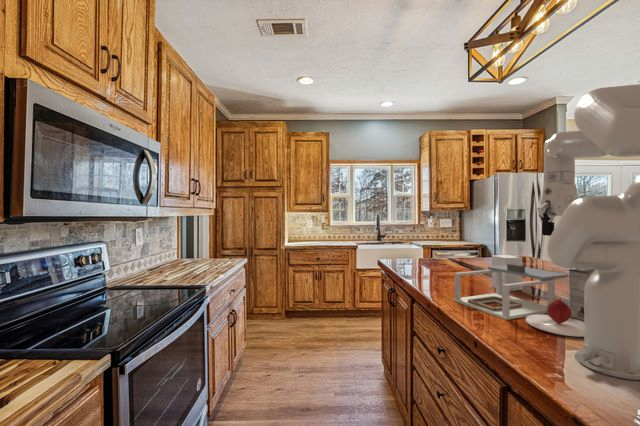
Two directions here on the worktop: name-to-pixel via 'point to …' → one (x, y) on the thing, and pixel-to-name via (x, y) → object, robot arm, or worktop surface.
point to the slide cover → (528, 272)
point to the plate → (556, 325)
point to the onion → (559, 311)
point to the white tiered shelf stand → (504, 297)
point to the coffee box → (578, 291)
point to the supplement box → (507, 277)
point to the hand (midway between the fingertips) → (559, 234)
